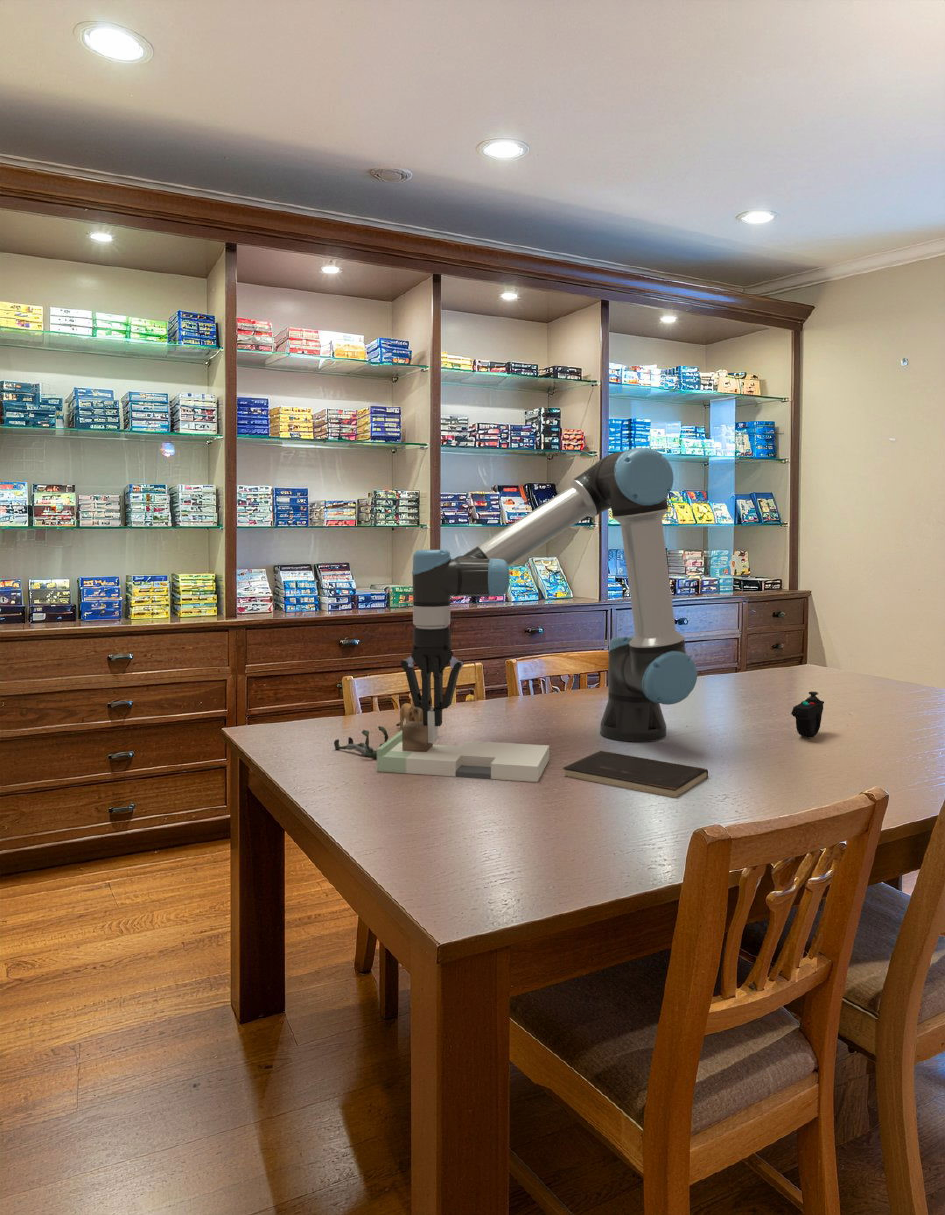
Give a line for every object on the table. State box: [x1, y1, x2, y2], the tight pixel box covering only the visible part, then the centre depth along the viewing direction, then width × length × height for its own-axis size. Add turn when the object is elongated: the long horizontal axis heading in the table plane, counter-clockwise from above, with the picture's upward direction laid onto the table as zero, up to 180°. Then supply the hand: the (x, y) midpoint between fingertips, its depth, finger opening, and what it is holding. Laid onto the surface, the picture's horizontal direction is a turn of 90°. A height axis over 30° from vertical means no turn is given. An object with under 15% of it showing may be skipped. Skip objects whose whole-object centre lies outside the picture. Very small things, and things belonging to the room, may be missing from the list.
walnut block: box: [402, 721, 434, 752], centre depth 175 cm, size 5×5×5 cm
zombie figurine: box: [333, 725, 390, 759], centre depth 181 cm, size 5×7×15 cm
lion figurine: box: [395, 702, 434, 733], centre depth 199 cm, size 15×5×9 cm, turn 35°
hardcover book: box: [562, 750, 709, 798], centre depth 165 cm, size 16×23×2 cm
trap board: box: [376, 730, 550, 783], centre depth 173 cm, size 32×16×4 cm, turn 77°
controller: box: [790, 691, 825, 739], centre depth 196 cm, size 4×12×10 cm, turn 141°
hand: (432, 741), depth 174 cm, fingers closed
